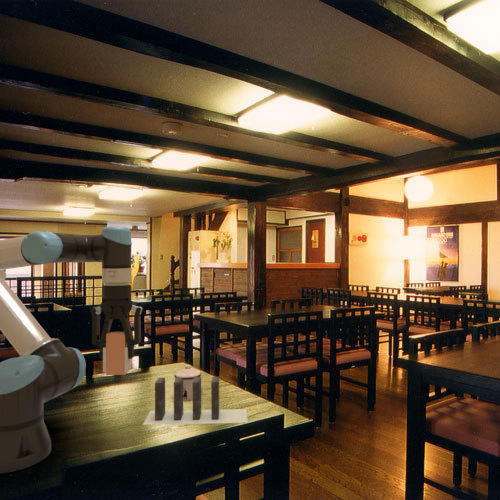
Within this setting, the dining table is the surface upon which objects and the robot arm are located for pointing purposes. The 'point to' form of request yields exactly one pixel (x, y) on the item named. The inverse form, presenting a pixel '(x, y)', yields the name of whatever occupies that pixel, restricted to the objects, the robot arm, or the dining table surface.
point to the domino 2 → (159, 399)
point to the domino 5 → (215, 398)
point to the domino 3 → (178, 398)
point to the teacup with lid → (188, 381)
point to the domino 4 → (196, 398)
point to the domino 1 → (115, 353)
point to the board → (205, 417)
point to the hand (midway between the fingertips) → (116, 370)
